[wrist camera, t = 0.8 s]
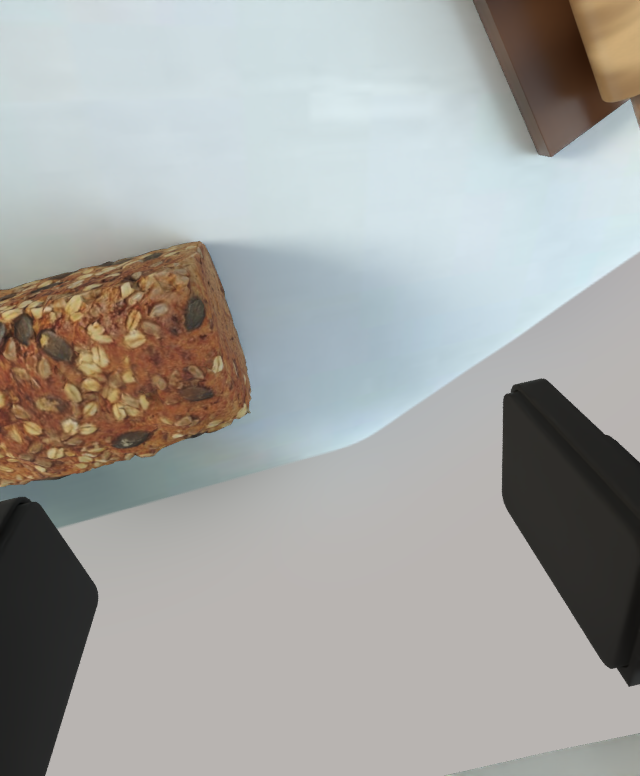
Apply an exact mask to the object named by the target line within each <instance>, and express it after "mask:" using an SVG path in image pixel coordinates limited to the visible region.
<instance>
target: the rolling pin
mask: <svg viewBox="0 0 640 776" xmlns="http://www.w3.org/2000/svg"><path fill="white" fill-rule="evenodd" d="M569 3H570V6H571V9H572V12H573V15H574V18H575V21H576V23H577V26H578V29H579V32H580V35H581V38H582V41H583V44H584V47H585V50H586V53H587V56H588V59H589V62H590V65H591V68H592V71H593V74H594V77H595V80H596V83H597V86H598V89H599V92H600V95H601V98H602V100H603V101H605V102H618V101H622V100H625V99H629V98H630V99H631V102H632V105H633V109H634V112H635V115H636V118H637V122H638V125H639V128H640V0H569Z"/></svg>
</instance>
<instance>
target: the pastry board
mask: <svg viewBox="0 0 640 776" xmlns="http://www.w3.org/2000/svg"><path fill="white" fill-rule="evenodd" d="M473 2H474V5H475V7H476V9H477V12H478V14H479V16H480V19H481V21H482V23H483V26H484V28H485V30H486V33H487V35H488V37H489V40H490V42H491V44H492V47H493V49H494V51H495V54H496V56H497V58H498V61H499V63H500V65H501V68H502V70H503V72H504V75H505V77H506V79H507V82H508V84H509V86H510V89H511V91H512V93H513V96H514V98H515V100H516V103H517V105H518V107H519V110H520V112H521V114H522V117H523V119H524V121H525V124H526V126H527V128H528V131H529V133H530V135H531V138H532V140H533V142H534V145H535V147H536V149H537V152H538V154H539V155H542V156H548V157H552V156H553V155H555V154H556V153H557V152H559V151H560V150H561V149H563V148H564V147H565V146H567V145H568V144H570V143H571V142H572V141H574V140H575V139H576V138H578V137H579V136H580V135H582V134H583V133H584V132H586V131H587V130H589V129H590V128H591V127H593V126H594V125H595V124H597V123H598V122H599V121H601V120H602V119H603V118H605V117H606V116H607V115H609V114H610V113H612V112H613V111H614V110H616V109H617V108H618V107H620V106H621V105H622V104H624V103H625V102H626V101H628V100H629V99H630V98H629V99H625V100H622V101H618V102H605V101H603V100H602V98H601V95H600V92H599V89H598V86H597V83H596V80H595V77H594V74H593V71H592V68H591V65H590V62H589V59H588V56H587V53H586V50H585V47H584V44H583V41H582V38H581V35H580V32H579V29H578V26H577V23H576V21H575V18H574V15H573V12H572V9H571V6H570V3H569V0H473Z"/></svg>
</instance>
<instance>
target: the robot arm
mask: <svg viewBox="0 0 640 776" xmlns="http://www.w3.org/2000/svg"><path fill="white" fill-rule="evenodd" d="M502 461H503V462H502V496H503V500H504V504H505V506H506V508H507V510H508V512H509V514H510V515H511V517H512V518H513V520H514V522H515V523H516V525H517V526H518V528H519V530H520V531H521V533H522V534H523V536H524V537H525V539H526V541H527V542H528V544H529V546H530V547H531V549H532V550H533V552H534V553H535V555H536V556H537V558H538V560H539V561H540V563H541V565H542V566H543V568H544V569H545V571H546V573H547V574H548V576H549V577H550V579H551V581H552V582H553V584H554V585H555V587H556V589H557V590H558V592H559V593H560V595H561V597H562V598H563V600H564V601H565V603H566V605H567V606H568V608H569V609H570V611H571V613H572V614H573V616H574V617H575V619H576V621H577V622H578V624H579V625H580V627H581V628H582V630H583V631H584V633H585V635H586V636H587V638H588V640H589V641H590V643H591V644H592V646H593V648H594V649H595V651H596V652H597V654H598V656H599V657H600V659H601V660H602V662H603V663H604V664H605V665H606V666H607V667H609V668H610V669H613V668H617V669H618V670H619V672H620V674H621V675H622V677H623V678H624V680H625V681H626V683H627V684H628V686H634V685H638V684H640V463H639V461H637V460H636V459H635V458H634V457H633V456H632V455H631V454H630V453H629V452H628V451H627V450H625V448H623V447H622V446H621V445H620V444H619V443H618V442H617V441H616V440H614V439H613V438H612V437H610V436H608V435H605V434H603V432H602V431H601V430H599V429H598V428H597V427H596V426H595V425H594V424H593V423H592V422H591V421H590V420H589V419H588V418H587V417H586V416H585V415H584V414H582V413H581V412H580V411H579V410H578V409H577V408H576V407H575V406H574V405H573V404H572V403H571V402H570V401H569V400H568V399H566V398H565V397H564V396H563V395H562V394H561V393H560V392H559V391H558V390H557V389H556V388H555V387H554V386H553V385H552V384H551V383H549V382H548V381H547V380H546V379H538V380H533V381H529V382H524V383H520V384H515V385H514V386H513V387H512V389H511V393H509V394H506V395H505V396H504V400H503V459H502ZM97 604H98V591H97V588H96V586H95V584H94V582H93V581H92V580H91V578H90V577H89V575H88V574H87V572H86V571H85V569H84V568H83V567H82V565H81V563H80V562H79V561H78V559H77V558H76V556H75V555H74V553H73V552H72V550H71V549H70V547H69V546H68V545H67V543H66V542H65V540H64V539H63V538H62V536H61V535H60V533H59V531H58V530H57V528H56V527H55V526H54V524H53V523H52V521H51V520H50V518H49V517H48V515H47V514H46V512H45V511H44V509H43V508H42V507H41V505H40V504H39V503H37V502H31V501H30V499H28V498H26V497H18V498H14V499H9V500H5V501H1V502H0V776H45V774H46V771H47V768H48V765H49V761H50V758H51V754H52V752H53V748H54V745H55V742H56V738H57V735H58V732H59V728H60V725H61V722H62V719H63V716H64V712H65V709H66V706H67V703H68V699H69V696H70V692H71V689H72V686H73V683H74V679H75V676H76V673H77V669H78V667H79V663H80V660H81V657H82V653H83V650H84V647H85V644H86V640H87V637H88V634H89V631H90V627H91V624H92V621H93V617H94V614H95V611H96V607H97ZM446 776H640V733H639V734H634V735H629V736H624V737H619V738H614V739H610V740H605V741H600V742H595V743H590V744H585V745H580V746H576V747H571V748H566V749H561V750H556V751H551V752H547V753H542V754H538V755H533V756H529V757H525V758H520V759H516V760H512V761H507V762H503V763H498V764H494V765H490V766H485V767H481V768H477V769H472V770H468V771H463V772H459V773H454V774H450V775H446Z"/></svg>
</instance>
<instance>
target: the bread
mask: <svg viewBox="0 0 640 776" xmlns="http://www.w3.org/2000/svg"><path fill="white" fill-rule="evenodd" d="M250 393H251V388H250V382H249V378H248V375H247V367H246V360H245V357H244V354H243V350H242V348H241V345H240V342H239V338H238V334H237V331H236V329H235V327H234V324H233V320H232V316H231V313H230V310H229V308H228V305H227V302H226V300H225V294H224V289H223V287H222V284H221V282H220V279H219V277H218V274H217V272H216V269H215V267H214V264H213V262H212V259H211V257H210V255H209V252H208V251H207V249H206V247H205V245H204V244H203V243H202V242H200V241H198V242H191V243H185V244H181V245H176V246H172V247H170V248H168V249H160V250H156V251H151V252H149V253H146V254H143V255H140V256H137V257H131V258H125V259H121V260H118V261H116V262H106V263H104V264H102V265H99V266H93V267H88V268H82V269H79V270H78V271H76V272H70V273H64V274H60V275H56V276H53V277H49V278H45V279H41V280H37V281H34V282H30V283H26V284H23V285H20V286H17V287H15V288H12V289H8V290H0V487H4V486H6V485H18V484H23V485H25V484H27V483H28V482H30V481H40V480H57V479H60V478H63V477H65V476H68V475H71V474H74V473H76V474H78V473H84V472H86V471H90V470H91V469H92V468H98V467H101V466H103V465H109V464H113V463H114V462H115V461H123V460H130V459H131V458H132V457H133V456H134V455H136V456H139V457H141V458H143V457H151V456H154V455H155V454H156V453H157V452H158V451H159V450H160V449H162V448H164V447H167V446H169V445H171V444H174V443H176V442H179V441H181V440H184V439H188V438H195V437H198V436H200V435H202V434H204V433H212V432H215V431H218V430H220V429H222V428H224V427H226V426H228V425H231V424H232V422H233V420H234V419H240V418H241V417H243V416H244V415H246V414H247V413H250V411H249V401H250V400H251V396H250Z"/></svg>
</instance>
